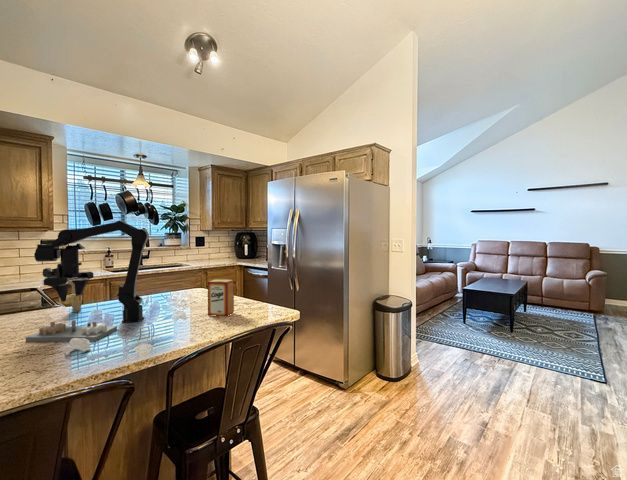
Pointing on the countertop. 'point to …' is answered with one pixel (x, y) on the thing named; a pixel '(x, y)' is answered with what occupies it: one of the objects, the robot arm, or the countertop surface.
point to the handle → (77, 305)
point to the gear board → (71, 332)
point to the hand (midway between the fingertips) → (70, 299)
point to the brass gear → (71, 299)
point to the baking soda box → (220, 297)
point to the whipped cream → (78, 345)
